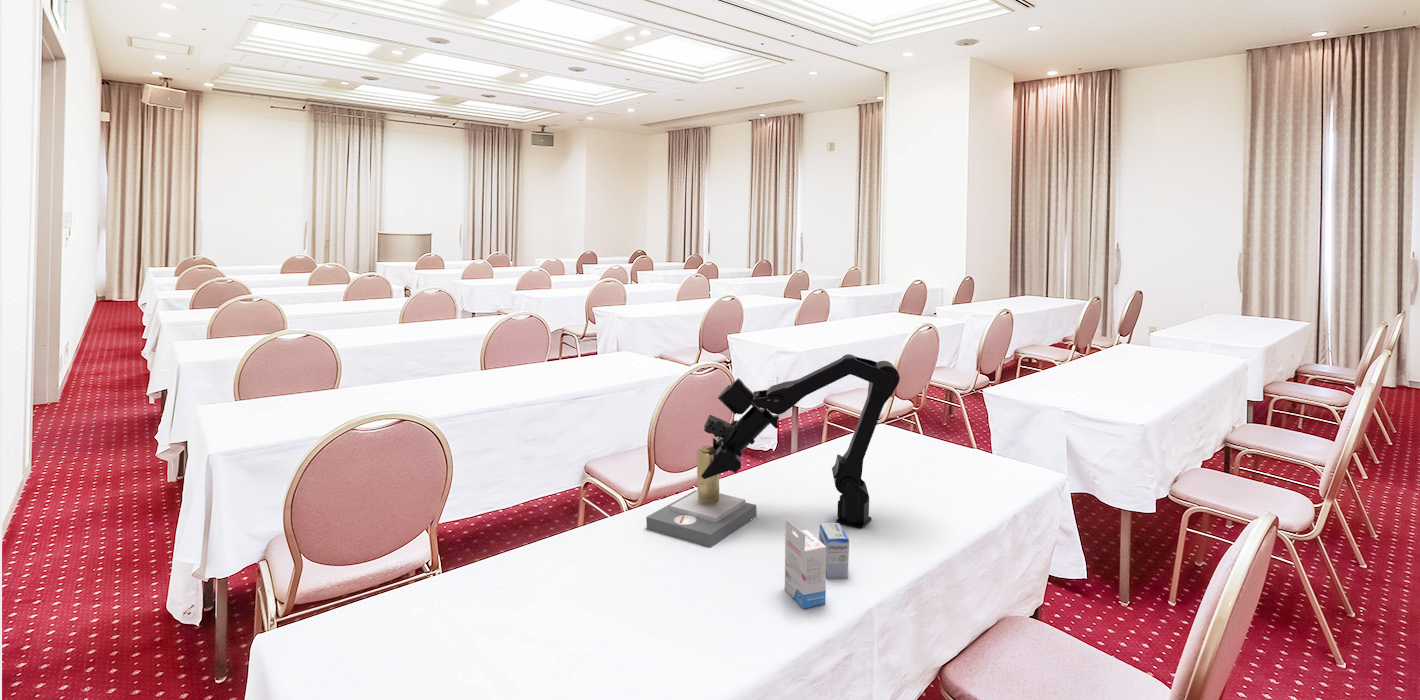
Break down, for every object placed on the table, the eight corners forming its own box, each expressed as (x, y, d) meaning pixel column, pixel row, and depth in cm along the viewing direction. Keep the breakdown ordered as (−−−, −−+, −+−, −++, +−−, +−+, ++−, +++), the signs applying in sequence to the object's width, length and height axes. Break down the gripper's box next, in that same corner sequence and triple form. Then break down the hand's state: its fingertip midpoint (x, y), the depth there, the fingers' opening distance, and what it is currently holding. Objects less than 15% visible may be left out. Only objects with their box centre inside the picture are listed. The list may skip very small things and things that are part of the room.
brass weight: (723, 501, 178) (722, 449, 175) (703, 505, 176) (701, 452, 173) (714, 494, 182) (713, 443, 180) (694, 497, 180) (693, 446, 178)
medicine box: (818, 561, 158) (818, 522, 156) (838, 560, 158) (839, 522, 157) (826, 579, 150) (827, 539, 148) (848, 578, 150) (849, 538, 149)
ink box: (827, 604, 140) (828, 531, 138) (803, 609, 139) (804, 535, 136) (806, 584, 148) (807, 514, 146) (783, 588, 147) (784, 517, 144)
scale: (756, 516, 181) (756, 500, 180) (710, 547, 165) (710, 529, 164) (695, 501, 191) (695, 485, 190) (646, 529, 175) (646, 512, 174)
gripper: (722, 395, 184) (678, 439, 186) (725, 415, 166) (677, 464, 167) (754, 425, 186) (710, 468, 187) (761, 448, 167) (712, 496, 169)
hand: (702, 473), depth 178 cm, fingers closed on brass weight, 5 cm apart
